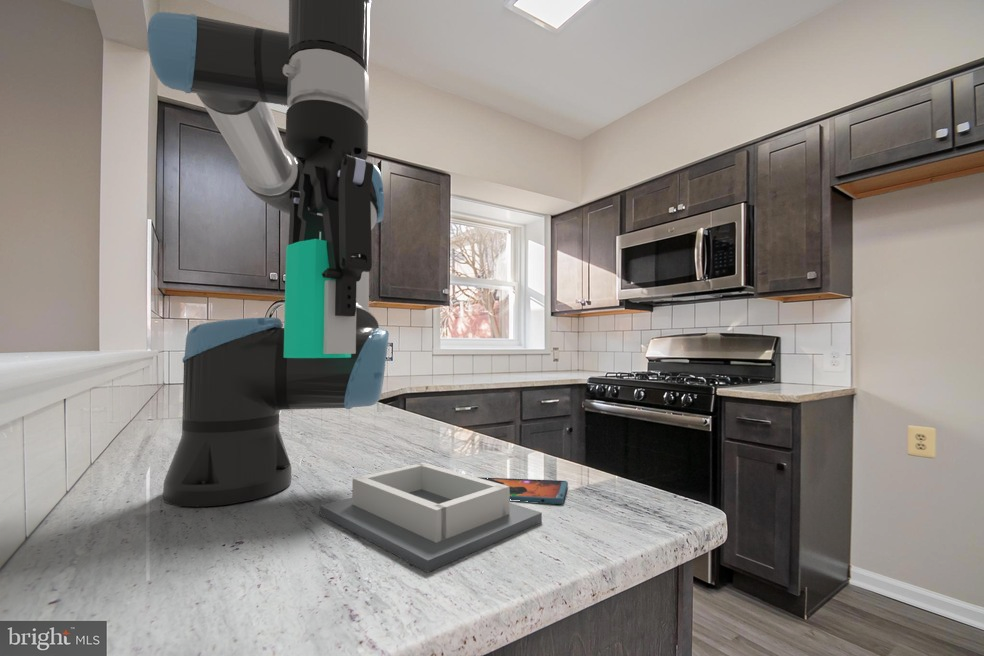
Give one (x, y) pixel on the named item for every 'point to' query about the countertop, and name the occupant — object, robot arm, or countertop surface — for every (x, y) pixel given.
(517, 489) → the smartphone
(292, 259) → the candle
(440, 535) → the dock
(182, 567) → the countertop surface
